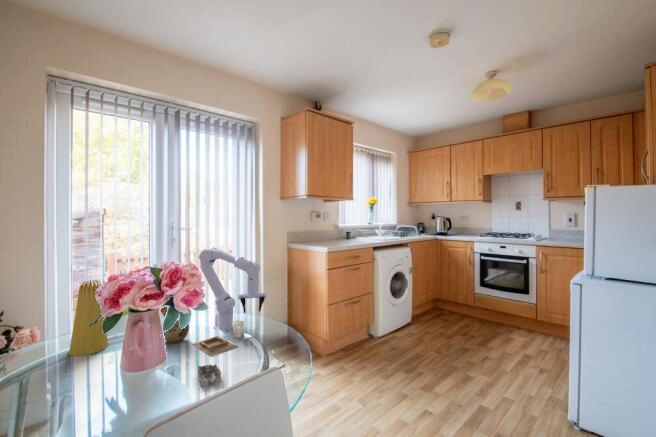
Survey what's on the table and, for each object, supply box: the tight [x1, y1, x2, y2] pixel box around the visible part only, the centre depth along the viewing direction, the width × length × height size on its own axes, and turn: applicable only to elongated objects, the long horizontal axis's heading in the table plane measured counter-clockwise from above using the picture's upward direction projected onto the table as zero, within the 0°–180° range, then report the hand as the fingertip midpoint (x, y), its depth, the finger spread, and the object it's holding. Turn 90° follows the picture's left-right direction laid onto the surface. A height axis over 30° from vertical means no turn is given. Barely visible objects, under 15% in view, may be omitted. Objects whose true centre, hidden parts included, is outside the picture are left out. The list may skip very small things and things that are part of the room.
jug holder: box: [191, 335, 238, 358], centre depth 133 cm, size 18×13×2 cm
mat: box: [222, 331, 247, 344], centre depth 144 cm, size 11×11×1 cm
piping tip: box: [68, 279, 109, 357], centre depth 128 cm, size 14×14×30 cm
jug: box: [232, 320, 245, 339], centre depth 142 cm, size 9×5×7 cm, turn 19°
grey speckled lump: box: [197, 363, 222, 389], centre depth 107 cm, size 11×8×4 cm
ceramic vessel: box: [160, 307, 190, 344], centre depth 137 cm, size 16×9×25 cm, turn 93°
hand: (252, 311), depth 153 cm, fingers open, 7 cm apart
